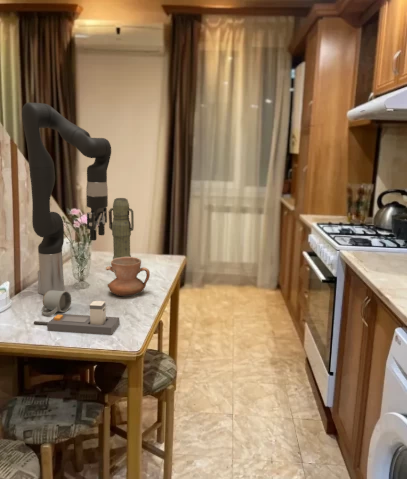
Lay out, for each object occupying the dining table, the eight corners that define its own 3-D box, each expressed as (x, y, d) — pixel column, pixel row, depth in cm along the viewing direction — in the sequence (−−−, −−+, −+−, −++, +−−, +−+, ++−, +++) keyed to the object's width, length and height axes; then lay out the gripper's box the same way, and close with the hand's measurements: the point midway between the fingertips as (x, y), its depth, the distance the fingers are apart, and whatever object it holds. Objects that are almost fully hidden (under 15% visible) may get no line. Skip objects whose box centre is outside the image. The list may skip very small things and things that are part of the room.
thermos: (112, 267, 230) (110, 197, 222) (135, 268, 229) (135, 197, 221) (107, 272, 221) (105, 199, 213) (132, 273, 220) (131, 200, 213)
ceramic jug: (102, 298, 186) (101, 264, 183) (110, 287, 200) (109, 255, 197) (147, 299, 185) (146, 265, 182) (152, 288, 199) (151, 256, 196)
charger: (90, 330, 155) (89, 305, 153) (94, 325, 159) (93, 300, 157) (102, 331, 155) (101, 305, 153) (106, 326, 159) (105, 301, 157)
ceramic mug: (54, 305, 178) (52, 286, 176) (72, 308, 175) (71, 288, 173) (35, 315, 168) (34, 295, 166) (55, 318, 165) (53, 298, 163)
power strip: (27, 329, 155) (26, 319, 155) (39, 318, 164) (39, 310, 163) (111, 334, 152) (111, 325, 151) (119, 324, 161) (119, 315, 160)
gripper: (94, 191, 176) (94, 233, 179) (79, 195, 162) (80, 241, 165) (113, 192, 175) (113, 234, 178) (100, 197, 161) (100, 242, 165)
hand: (97, 237), depth 172 cm, fingers open, 8 cm apart
